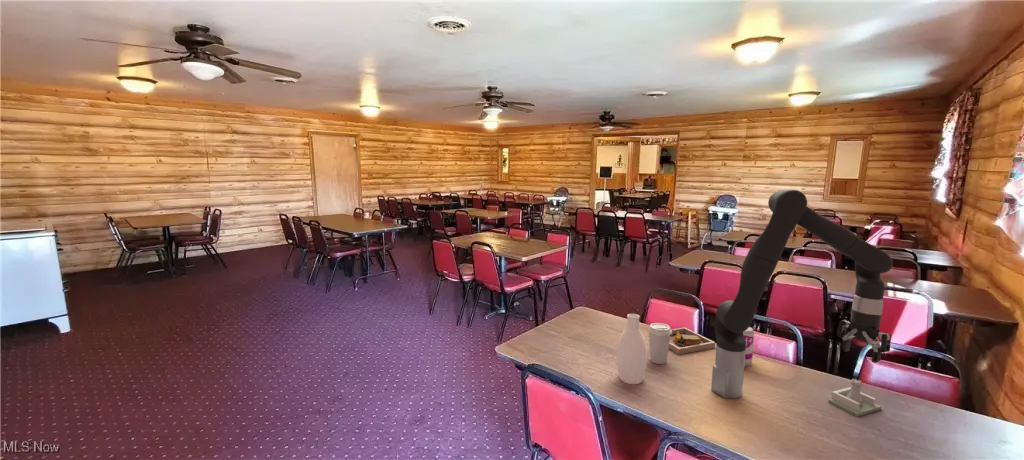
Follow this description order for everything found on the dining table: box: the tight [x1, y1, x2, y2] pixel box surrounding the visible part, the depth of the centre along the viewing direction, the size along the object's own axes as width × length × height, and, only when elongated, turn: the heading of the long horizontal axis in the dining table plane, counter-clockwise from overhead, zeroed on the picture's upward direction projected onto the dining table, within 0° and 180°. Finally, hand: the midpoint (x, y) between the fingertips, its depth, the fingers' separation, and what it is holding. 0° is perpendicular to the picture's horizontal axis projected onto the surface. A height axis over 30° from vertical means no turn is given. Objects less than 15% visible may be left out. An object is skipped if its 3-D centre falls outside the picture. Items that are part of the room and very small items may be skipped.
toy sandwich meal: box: [673, 331, 703, 347], centre depth 192 cm, size 12×14×5 cm
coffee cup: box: [647, 322, 672, 365], centre depth 174 cm, size 10×10×15 cm
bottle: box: [616, 313, 648, 385], centre depth 158 cm, size 11×11×25 cm
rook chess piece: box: [846, 378, 863, 405], centre depth 140 cm, size 4×4×8 cm
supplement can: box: [743, 326, 755, 367], centre depth 172 cm, size 8×8×15 cm
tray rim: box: [668, 326, 716, 355], centre depth 192 cm, size 20×19×2 cm
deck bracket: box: [827, 386, 882, 417], centre depth 141 cm, size 12×9×4 cm
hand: (860, 356), depth 138 cm, fingers open, 8 cm apart
